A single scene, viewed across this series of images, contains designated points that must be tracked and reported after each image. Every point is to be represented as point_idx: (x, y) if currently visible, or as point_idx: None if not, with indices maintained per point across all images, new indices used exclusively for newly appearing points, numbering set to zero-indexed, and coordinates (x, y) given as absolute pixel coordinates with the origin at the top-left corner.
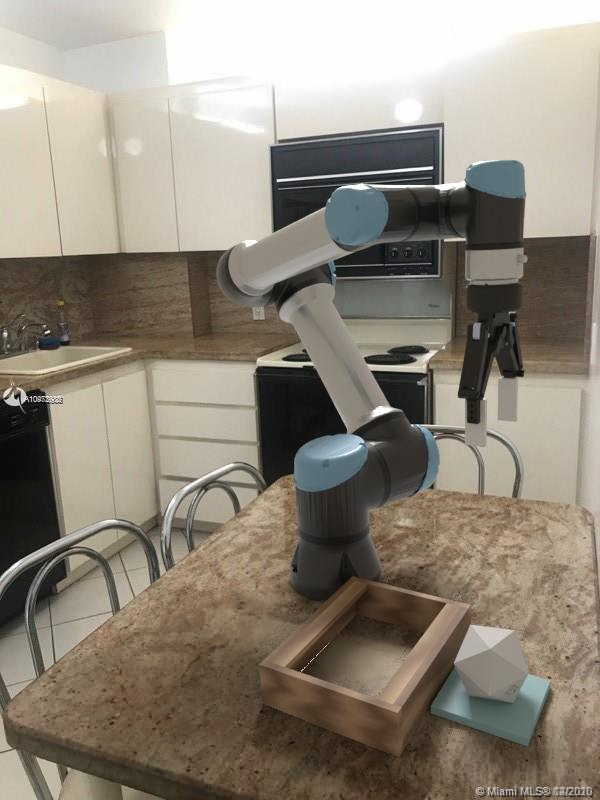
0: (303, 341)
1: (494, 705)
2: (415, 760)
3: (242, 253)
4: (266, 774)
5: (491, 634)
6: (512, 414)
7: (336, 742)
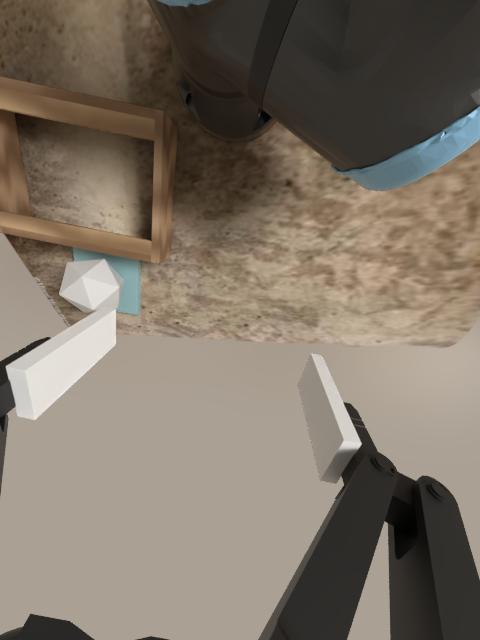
0: None
1: None
2: (33, 240)
3: None
4: None
5: (77, 293)
6: (303, 390)
7: None
